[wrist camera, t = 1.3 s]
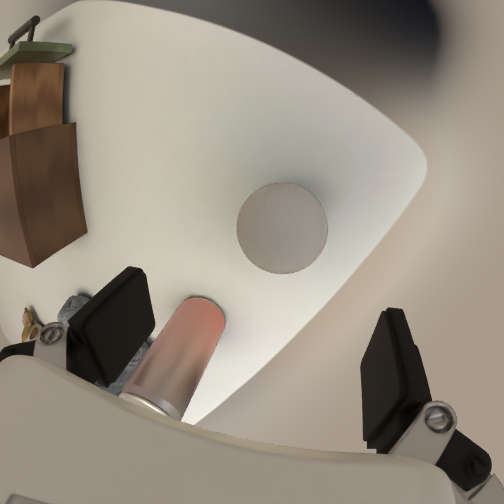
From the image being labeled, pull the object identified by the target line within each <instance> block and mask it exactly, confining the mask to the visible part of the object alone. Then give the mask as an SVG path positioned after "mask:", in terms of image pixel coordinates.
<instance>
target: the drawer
mask: <svg viewBox="0 0 504 504" xmlns="http://www.w3.org/2000/svg"><path fill="white" fill-rule="evenodd" d="M39 22H40V17H39V16H33V17H32V18H31V19H30V20H28V21H27V22H26V23H25V24H24V25H22V26H21V27H20V28H19V29H18V30H17V31H15V32H14V33H13V34H12V35H11V36H10V37H9V38H8V43H9V44H10V47H9V51H8V52H7V53H5V54H4V55H3V56H2V57H1V58H0V80H2V79H11V83H10V85H2V86H0V140H1V139H3V138H5V137H7V136H10V135H14V134H18V133H22V132H26V131H31V130H35V129H40V128H45V127H51V126H56V125H62V124H63V123H62V104H63V80H64V67H65V64H64V63H52V62H53V61H55V60H57V59H59V58H61V57H63V56H65V55H67V54H69V53H71V49H72V44H63V43H51V42H32V41H33V36H34V31H35V26H36V25H37V24H39ZM28 31H29V34H28V39H27V41H19V42H18V43H17V44H16V45H15V42H16V41H17V40H18V39H20V38H21V37H22V36H23V35H24V34H26V33H27V32H28ZM14 45H15V46H14Z"/></svg>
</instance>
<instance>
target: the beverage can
mask: <svg viewBox="0 0 504 504" xmlns="http://www.w3.org/2000/svg"><path fill="white" fill-rule="evenodd" d="M224 329H225V319H224V315H223V313H222V311H221V310H220V308H219V307H218V306H217V305H216V304H214V303H213V302H211V301H210V300H208V299H205V298H200V297H194V298H189V299H186V300H184V301H183V302H182V303H181V304H180V306H179V307H178V309H177V310H176V311H175V313H174V314H173V315H172V317H171V318H170V320H169V321H168V322H167V324H166V325H165V327H164V328H163V329H162V331H161V332H160V334H159V335H158V336H157V338H156V339H155V341H154V342H153V343H152V345H151V346H150V348H149V349H148V351H147V352H146V353H145V355H144V356H143V358H142V359H141V360H140V362H139V363H138V365H137V366H136V368H135V369H134V371H133V372H132V373H131V375H130V376H129V378H128V379H127V381H126V382H125V384H124V385H123V387H122V391H121V394H120V395H119V397H120V398H122V399H125V400H127V401H129V402H131V403H134V404H136V405H139V406H141V407H143V408H146V409H148V410H151V411H154V412H156V413H159V414H161V415H164V416H167V417H170V418H173V419H176V420H178V421H181V419H182V417H183V415H184V413H185V411H186V409H187V407H188V404H189V402H190V400H191V398H192V396H193V394H194V392H195V390H196V388H197V386H198V384H199V381H200V379H201V377H202V375H203V373H204V371H205V369H206V367H207V365H208V362H209V360H210V358H211V356H212V354H213V352H214V350H215V348H216V346H217V343H218V341H219V339H220V337H221V335H222V333H223V331H224Z"/></svg>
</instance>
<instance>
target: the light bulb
mask: <svg viewBox="0 0 504 504" xmlns="http://www.w3.org/2000/svg"><path fill="white" fill-rule="evenodd" d="M327 234H328V223H327V217H326V214H325V211H324V209H323V207H322V205H321V203H320V202H319V201H318V199H317V198H316V197H315V196H314V195H313V194H312V193H311V192H309V191H308V190H306V189H305V188H303V187H300V186H298V185H295V184H291V183H273V184H269V185H266V186H264V187H262V188H260V189H258V190H256V191H255V192H254V193H253V194H252V195H250V196H249V198H248V199H247V200H246V201H245V203H244V204H243V206H242V208H241V210H240V213H239V215H238V220H237V236H238V241H239V244H240V246H241V248H242V250H243V252H244V254H245V255H246V257H247V258H248V259H249V260H250V261H251V262H252V263H253V264H255V265H256V266H257V267H259V268H261V269H263V270H265V271H268V272H271V273H276V274H289V273H294V272H298V271H300V270H302V269H304V268H306V267H307V266H309V265H310V264H311V263H313V262H314V261H315V260H316V259H317V257H318V256H319V255H320V254H321V252H322V250H323V248H324V246H325V243H326V240H327Z"/></svg>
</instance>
